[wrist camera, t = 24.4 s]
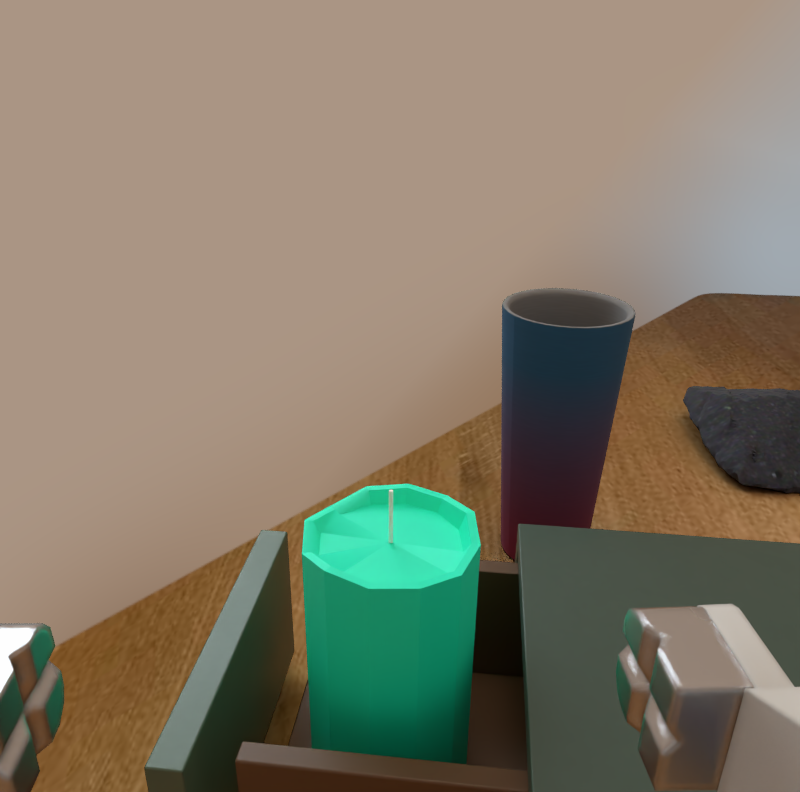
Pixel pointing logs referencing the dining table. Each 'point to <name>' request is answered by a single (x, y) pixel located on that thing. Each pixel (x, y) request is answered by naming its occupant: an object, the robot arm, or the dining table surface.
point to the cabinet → (604, 638)
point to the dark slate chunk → (751, 433)
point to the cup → (558, 403)
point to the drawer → (260, 688)
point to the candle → (391, 623)
